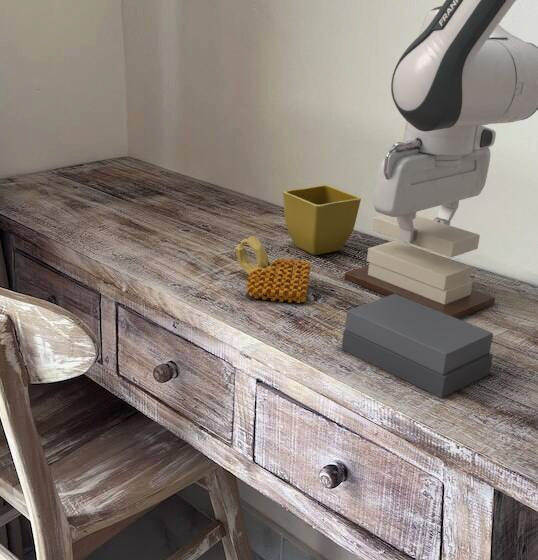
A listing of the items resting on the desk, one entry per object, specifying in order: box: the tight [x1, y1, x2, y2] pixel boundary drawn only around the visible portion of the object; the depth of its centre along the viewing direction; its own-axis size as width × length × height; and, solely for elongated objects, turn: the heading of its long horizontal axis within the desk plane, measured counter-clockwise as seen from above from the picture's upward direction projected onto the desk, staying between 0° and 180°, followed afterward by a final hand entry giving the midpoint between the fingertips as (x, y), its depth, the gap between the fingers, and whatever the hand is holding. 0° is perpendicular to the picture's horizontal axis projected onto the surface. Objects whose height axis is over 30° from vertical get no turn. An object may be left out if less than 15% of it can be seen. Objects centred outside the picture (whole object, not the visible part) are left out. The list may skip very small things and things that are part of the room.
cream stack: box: [344, 240, 496, 320], centre depth 112 cm, size 18×10×5 cm, turn 40°
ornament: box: [234, 235, 312, 304], centre depth 112 cm, size 7×10×15 cm
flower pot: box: [282, 184, 362, 256], centre depth 126 cm, size 9×9×9 cm
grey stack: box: [341, 294, 494, 399], centre depth 92 cm, size 14×9×5 cm, turn 40°
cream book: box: [372, 214, 481, 258], centre depth 110 cm, size 13×6×2 cm, turn 40°
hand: (424, 236), depth 110 cm, fingers closed on cream book, 6 cm apart
